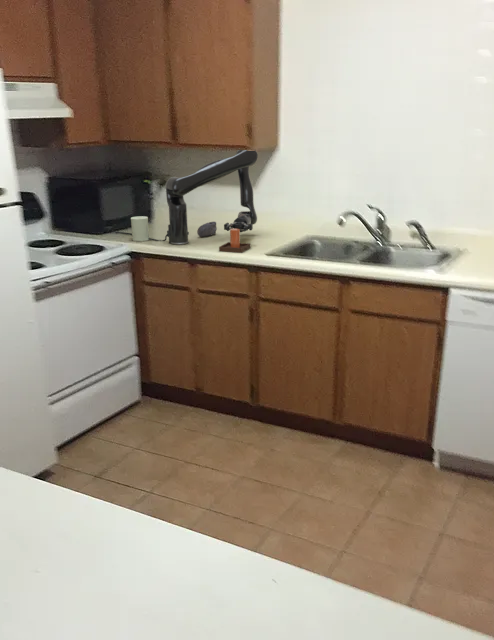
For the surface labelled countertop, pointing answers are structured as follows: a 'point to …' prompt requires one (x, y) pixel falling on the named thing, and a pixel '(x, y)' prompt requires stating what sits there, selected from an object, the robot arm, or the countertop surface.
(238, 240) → the orange block
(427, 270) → the countertop surface
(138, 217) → the can
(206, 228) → the perforated stone tool
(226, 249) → the stand
